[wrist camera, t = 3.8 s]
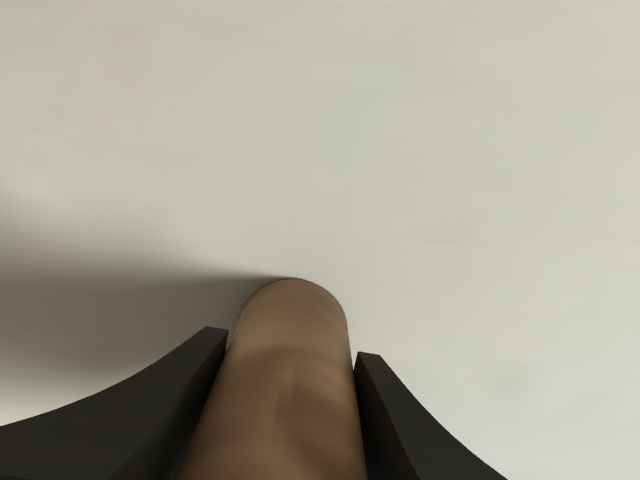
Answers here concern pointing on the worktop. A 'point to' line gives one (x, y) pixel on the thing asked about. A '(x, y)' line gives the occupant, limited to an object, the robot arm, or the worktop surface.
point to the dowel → (282, 394)
